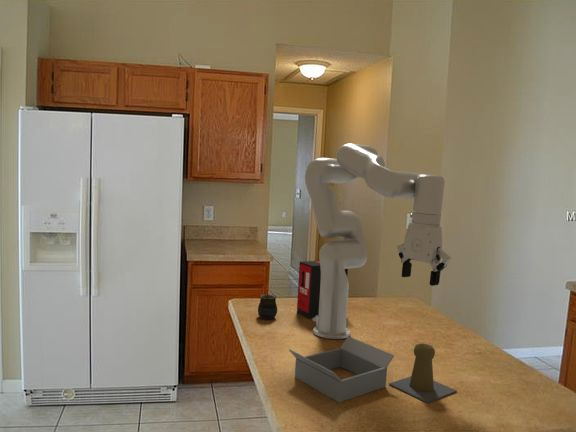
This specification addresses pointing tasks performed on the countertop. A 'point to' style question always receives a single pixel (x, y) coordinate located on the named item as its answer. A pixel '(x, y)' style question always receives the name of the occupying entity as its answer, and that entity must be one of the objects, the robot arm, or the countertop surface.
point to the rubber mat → (427, 397)
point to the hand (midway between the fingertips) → (419, 280)
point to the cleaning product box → (309, 288)
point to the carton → (351, 357)
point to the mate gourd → (267, 307)
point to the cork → (423, 368)
